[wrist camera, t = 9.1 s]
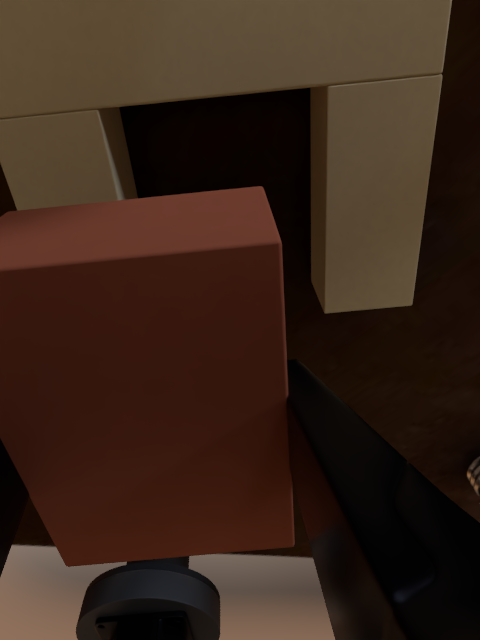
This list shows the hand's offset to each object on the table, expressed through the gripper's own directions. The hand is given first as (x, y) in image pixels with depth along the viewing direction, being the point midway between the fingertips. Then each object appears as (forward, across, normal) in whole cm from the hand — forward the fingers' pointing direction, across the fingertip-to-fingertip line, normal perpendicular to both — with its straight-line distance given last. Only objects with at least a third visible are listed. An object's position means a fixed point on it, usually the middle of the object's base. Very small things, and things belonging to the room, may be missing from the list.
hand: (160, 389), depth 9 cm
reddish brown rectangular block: (+2, 0, 0) cm, 2 cm away
